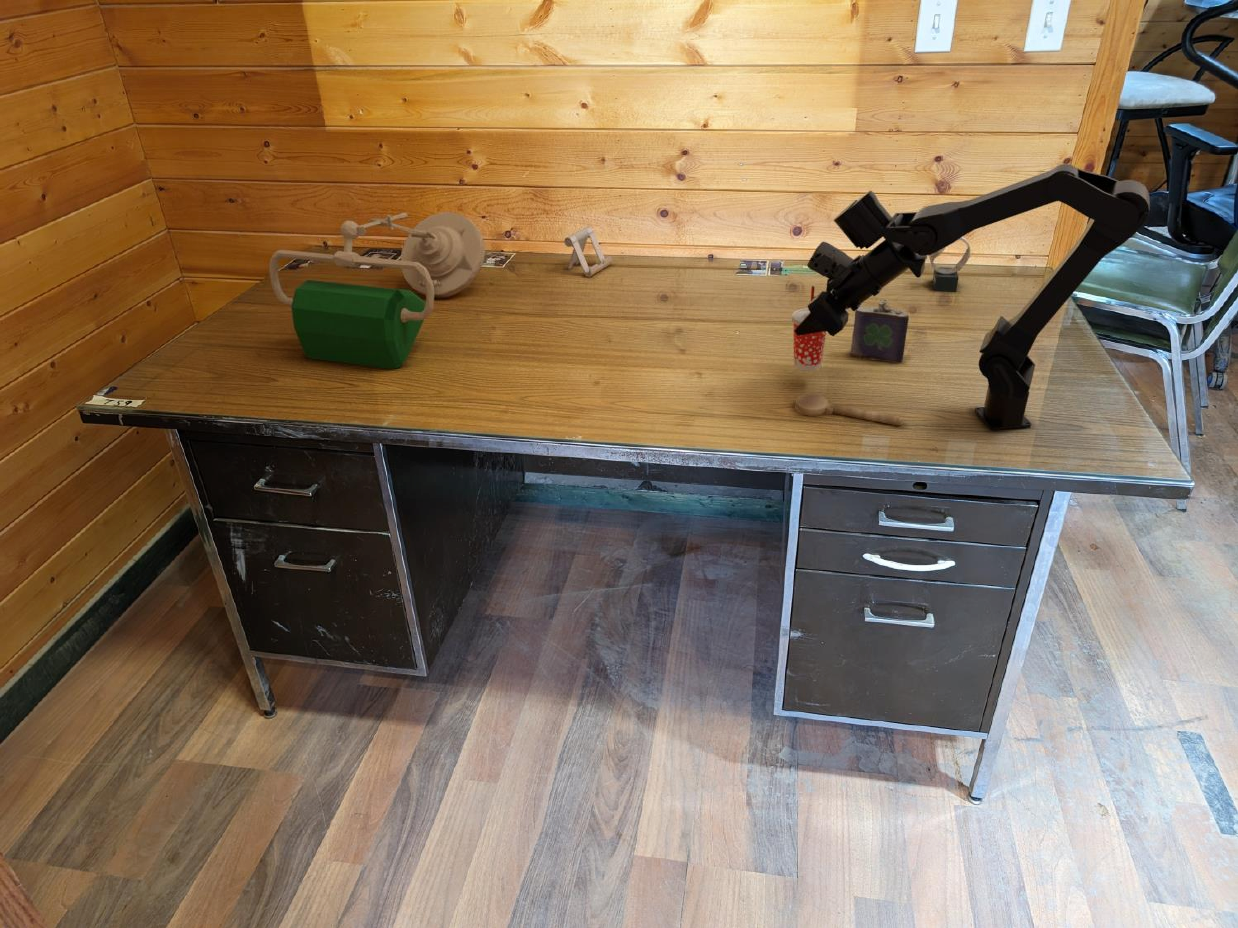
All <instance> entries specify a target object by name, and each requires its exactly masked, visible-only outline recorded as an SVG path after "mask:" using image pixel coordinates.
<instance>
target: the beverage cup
mask: <svg viewBox="0 0 1238 928" xmlns="http://www.w3.org/2000/svg"><path fill="white" fill-rule="evenodd" d="M814 297H815V286H814V285H812V286H811V290H810V301H811V300H812V299H813V298H814ZM809 313H810V311H809V309H808V307H807V308H800V309H798V310H797V309H796V310H795V311H794V312H792V314H791V322H792V323H793V367H794V368H795V369H797V370H800V371H803V372H813V371H817V370H819V369H820V368H821V367H822V363H823V356H824V348H825V341H826V336H827V331H824V332H817V333H811V334H805V335H800V336H798V335H797V334H796V333H795V331H794V330H795V329H796V328H797V327H798V326H799V325H800V323H801V322H802V321H803V320H804V319H805V318H806V317H807V316H808V314H809Z"/></svg>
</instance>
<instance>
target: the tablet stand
mask: <svg viewBox="0 0 1238 928" xmlns="http://www.w3.org/2000/svg"><path fill="white" fill-rule="evenodd" d="M588 239H589V240H590V242H591V244H592V247H593V249H594V251H595V255H596V257H597V259H598V261H599V263H595V264H593V265H591V266H590V267H589V265H588V262H587V260H586V258H585V255H584V251H585V248H586V245H587V242H588ZM563 242H564V245H565V246H566V247H568V248H572V249H573V250H572V253H571V256H570V259H569V262H568V265H567V270H570V269H572V267H573V265H574V263H575V266H577V265H579V264H580V266H581V270H582V271H583V274H584V275H585V277H587V278H590V277H592V276H594V275H595V274H597V273H598V272H601V270H604V269H605V268H607V267H609V266H610V265H611V264H612V263H613V259H612V256H611V255H609V256H607V257H605V256H604V253H603V251H602V248H601V246H600V243H599V241H598V238H597V236H596V233H595V230H594V228H593V227H592V226H590V225H587V226H586V227H583V228H582V229H580V230H578V231H576V232H574V233H572V234H570V235H569V236H566V237H565V238H564V240H563Z"/></svg>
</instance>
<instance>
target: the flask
mask: <svg viewBox="0 0 1238 928" xmlns="http://www.w3.org/2000/svg"><path fill="white" fill-rule="evenodd" d="M888 302H889V300H888V299H883V300H882V299H881V300H880V302H878V303H877V305H878V307H870V306H860V307H859V308H858V309H857V310H855V311H854V321H853V330H852V337H851V346H850V356H853V357H855V358H858V359H861V358H864V359H868V360H873V361H881V362H887V363H894V364H900V363H902V362H903V359H904V354H905V348H906V340H907V332H908V328H909V320H910V319H909V313H908V312H906V311H902V310H901V309H898V308H896V309H893V308H891V306H889V305H887V303H888Z"/></svg>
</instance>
